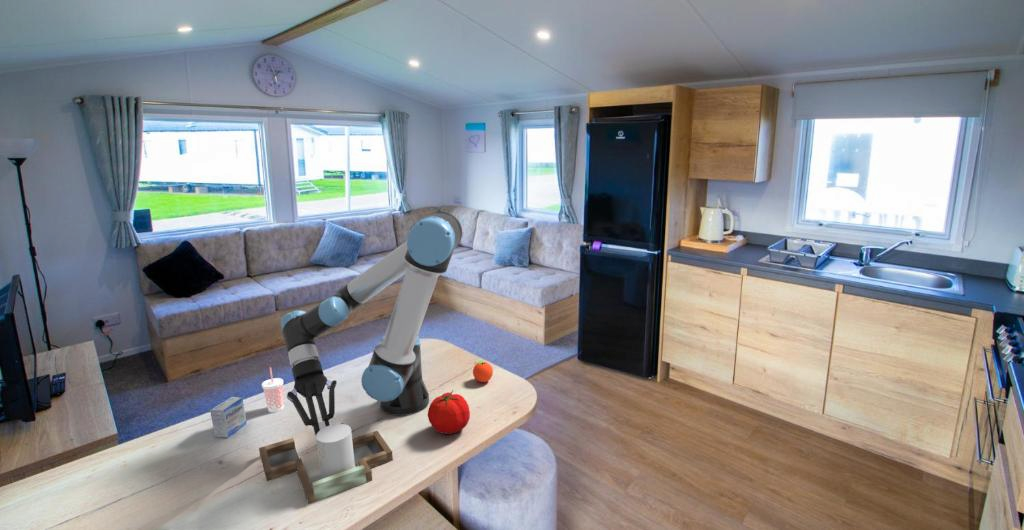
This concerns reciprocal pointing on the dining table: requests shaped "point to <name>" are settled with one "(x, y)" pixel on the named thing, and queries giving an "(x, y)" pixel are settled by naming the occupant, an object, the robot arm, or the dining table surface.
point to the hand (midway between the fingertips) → (327, 447)
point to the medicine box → (228, 417)
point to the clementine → (482, 371)
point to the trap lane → (366, 455)
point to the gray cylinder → (335, 449)
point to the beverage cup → (274, 393)
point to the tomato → (448, 413)
